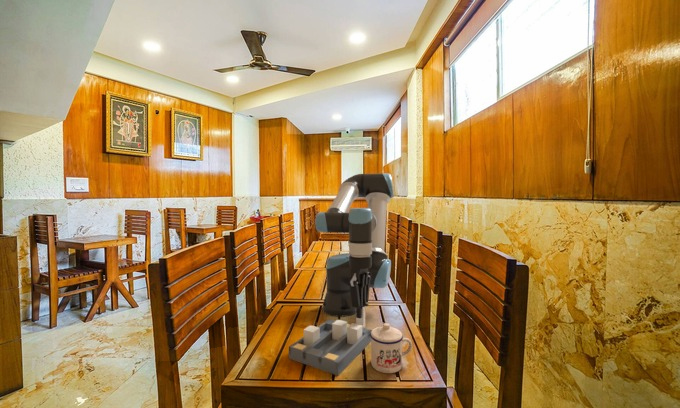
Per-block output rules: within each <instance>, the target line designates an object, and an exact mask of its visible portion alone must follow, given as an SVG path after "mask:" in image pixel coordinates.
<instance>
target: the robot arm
mask: <svg viewBox="0 0 680 408" xmlns="http://www.w3.org/2000/svg"><path fill="white" fill-rule="evenodd" d="M394 196H395V195H394V186H393V179H392V175H391V173H388V172H387V173H385V172H381V173H358V174H354V175H352V176H350V177H348V178H347V179H345V180H344V181H343V182H342V183H341V184H340V186H339V188H338V193H337V194H336V196H335V198H334V199H333V201H332V203H331V204H330V206H329V207H328V209H327V210H326V211H325V212H324V211H323V212H318V213H316V216H315V219H314V224H315V229H316V231H317V232H319V233H326V234H329V233H331V234H332V233H333V234H334V233H335V234H339V233H340V234H348V253H338V254H334V255H331V256H329V257H328V258H327V259H326V267H325V269H326V270H325V271H326V272H325V273H326V293H325V295H324V299H323V301H322V302H323V303H322V312H323V313H325V314H326V315H329V316H333V317H347V316H352V315H354V314H355V324H358V325H362V328H365V327H366V307H369V299H370V288H372V289H373V288H374V289H384V288H386V287H387V286H388V284H389V280H390V275H391V270H392V269H391V268H392V260H391V259H389V258H388V257H389V256H388V254H387V253H386V252H385V246H386V245H385V242H386V228H387V227H386V226H387V225H386V223H387V208H388V204H389V203H390V202H391V199H393V198H394ZM358 198H359V199H361V198H364V199H365V201H366V203H367V207H352V204H353V202H354V201H355V200H356V199H358ZM351 207H352V208H351Z"/></svg>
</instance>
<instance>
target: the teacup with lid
mask: <svg viewBox="0 0 680 408" xmlns="http://www.w3.org/2000/svg"><path fill="white" fill-rule="evenodd" d="M371 330H372V331H371V334H370V336H371V342H370V343H371V344H370V345H371V346H370V347H371V349H370V356H371V357H370V359H371V361H370V364H371V367H373V369H374V370H376V371H378V372H379V373H383V374H394V373H398V372H400V370H401V369H402V366H403V357H406V356H408V355H409V354H410V353H411V352H412V349H413V343H412V340H411V339H410V338H407V337H404V336H403V333H402V332H401V330H399V329H398V328H396V327H393V326H391V324H390V323H387V322H384V323H383V324H382V325H381V326H377V327H375V328H372V329H371ZM403 342H407V343H408V348H407V350H405V351H403Z"/></svg>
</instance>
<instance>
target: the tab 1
mask: <svg viewBox="0 0 680 408" xmlns="http://www.w3.org/2000/svg"><path fill="white" fill-rule="evenodd" d="M303 337H304V345H305V346H308V347H309V346H311V345H312V344H313V343H315V342H316V341H317V340H319V339H320V328H319V327H318V326H315V325H308V326H307V327H305V328H304V329H303Z"/></svg>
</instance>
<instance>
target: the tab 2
mask: <svg viewBox="0 0 680 408" xmlns="http://www.w3.org/2000/svg"><path fill="white" fill-rule="evenodd" d="M334 321H335V322H334V323H332V339H335V340H339V339H340V338H341V337H342V336H344V335H345V334H346V333H347V324H348V321H346V320H343V319H342V320H341V319H336V320H334Z"/></svg>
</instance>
